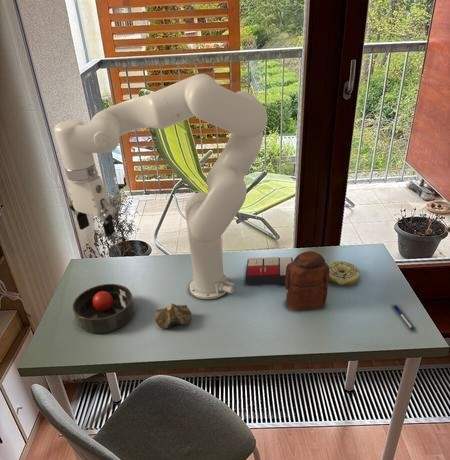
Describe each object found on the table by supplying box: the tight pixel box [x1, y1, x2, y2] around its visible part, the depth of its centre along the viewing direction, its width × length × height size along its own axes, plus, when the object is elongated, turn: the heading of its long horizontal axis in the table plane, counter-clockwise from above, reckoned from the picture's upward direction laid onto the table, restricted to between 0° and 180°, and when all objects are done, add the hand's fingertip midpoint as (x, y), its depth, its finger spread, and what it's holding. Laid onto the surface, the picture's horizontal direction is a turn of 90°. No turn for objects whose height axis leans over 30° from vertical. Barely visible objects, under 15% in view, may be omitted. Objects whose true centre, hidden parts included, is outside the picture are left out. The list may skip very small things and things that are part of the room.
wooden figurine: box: [284, 250, 330, 312], centre depth 124 cm, size 12×6×18 cm, turn 97°
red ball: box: [93, 291, 113, 311], centre depth 130 cm, size 6×6×6 cm
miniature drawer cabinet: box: [245, 256, 294, 286], centre depth 141 cm, size 11×4×15 cm
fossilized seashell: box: [154, 303, 193, 329], centre depth 124 cm, size 8×7×10 cm
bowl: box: [72, 283, 136, 334], centre depth 128 cm, size 17×17×6 cm
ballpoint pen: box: [393, 304, 414, 331], centre depth 122 cm, size 10×1×1 cm, turn 10°
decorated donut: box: [327, 260, 361, 287], centre depth 138 cm, size 10×11×4 cm
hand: (97, 230), depth 121 cm, fingers open, 9 cm apart
